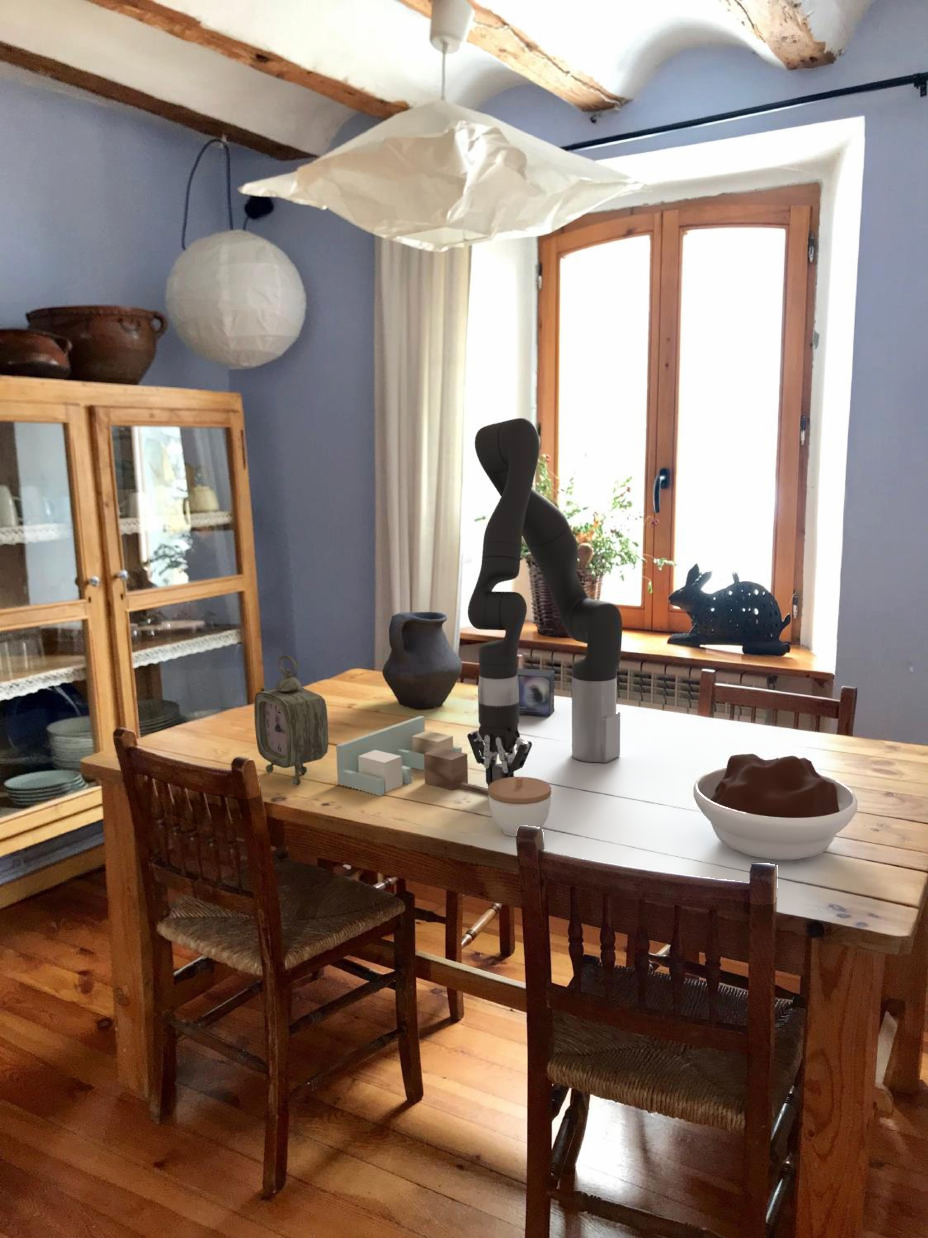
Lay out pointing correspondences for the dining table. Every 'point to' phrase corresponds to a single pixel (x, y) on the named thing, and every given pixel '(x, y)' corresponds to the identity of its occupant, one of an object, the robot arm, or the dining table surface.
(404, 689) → the pitcher
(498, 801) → the lidded jar
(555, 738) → the dining table surface
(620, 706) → the dining table surface
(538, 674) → the small box
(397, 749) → the lane shelf
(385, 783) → the cream block
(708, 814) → the bowl of brown mass
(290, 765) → the tabletop clock
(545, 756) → the dining table surface
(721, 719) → the dining table surface
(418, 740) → the oak block
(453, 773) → the tow block
